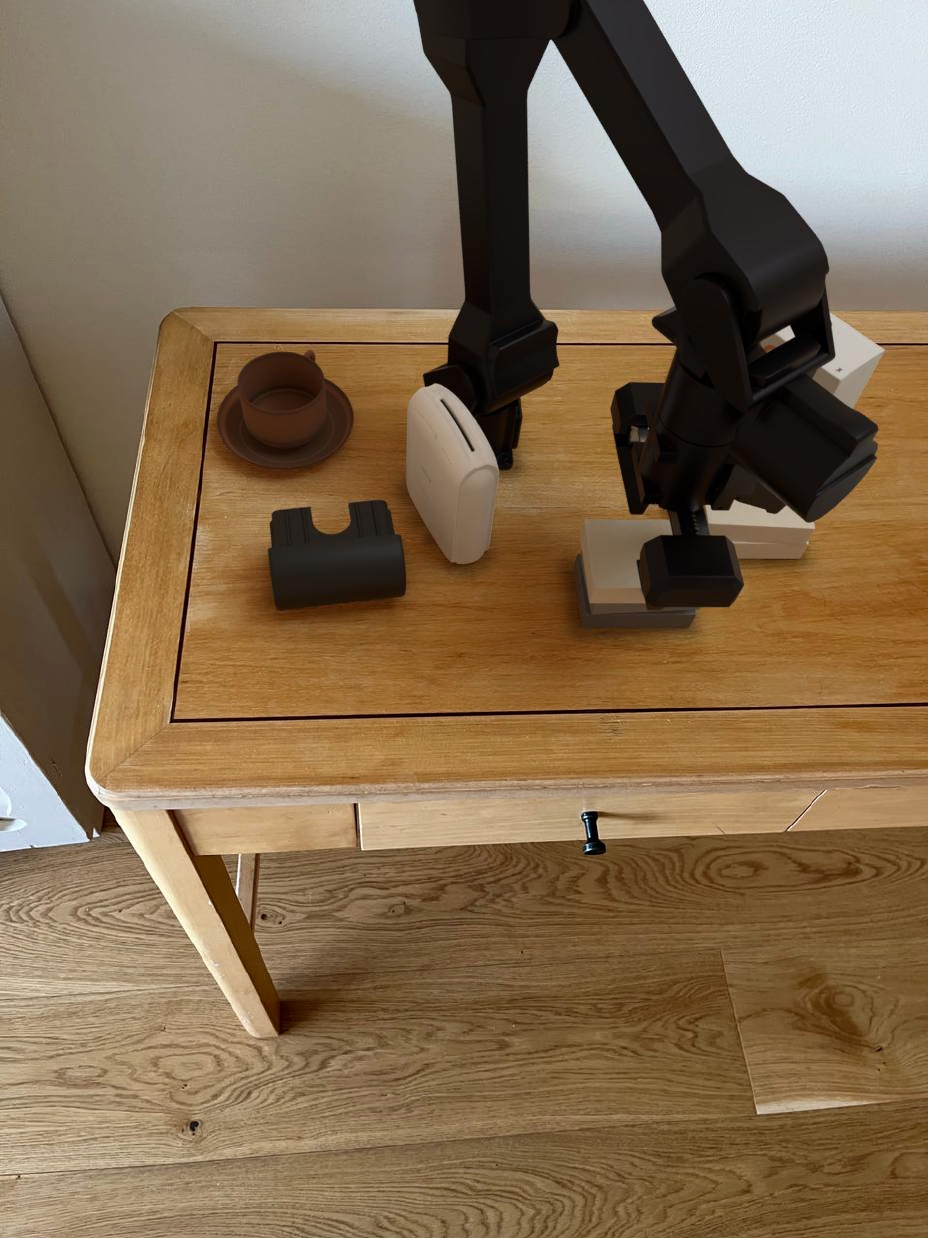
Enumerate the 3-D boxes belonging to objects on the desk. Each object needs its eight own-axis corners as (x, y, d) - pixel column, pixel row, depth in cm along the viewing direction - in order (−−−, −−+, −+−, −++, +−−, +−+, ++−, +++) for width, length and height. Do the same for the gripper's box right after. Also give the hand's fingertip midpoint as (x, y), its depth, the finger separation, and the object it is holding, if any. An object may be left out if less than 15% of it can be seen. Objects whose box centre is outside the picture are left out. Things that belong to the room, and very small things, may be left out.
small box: (825, 458, 87) (888, 349, 76) (782, 489, 84) (841, 381, 74) (760, 408, 90) (812, 296, 79) (717, 436, 88) (763, 324, 77)
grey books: (580, 628, 75) (590, 600, 71) (572, 565, 78) (580, 536, 75) (692, 628, 75) (707, 600, 72) (679, 566, 79) (692, 537, 75)
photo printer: (398, 485, 82) (400, 378, 71) (442, 471, 83) (451, 364, 72) (449, 573, 77) (458, 472, 66) (495, 556, 78) (511, 455, 68)
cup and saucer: (230, 381, 87) (220, 328, 82) (358, 389, 88) (356, 337, 82) (210, 479, 80) (198, 428, 75) (349, 486, 81) (347, 436, 76)
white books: (694, 559, 79) (709, 527, 76) (681, 501, 83) (695, 468, 79) (800, 560, 80) (820, 528, 76) (782, 502, 84) (801, 469, 80)
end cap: (279, 631, 73) (270, 581, 67) (272, 558, 76) (263, 505, 71) (405, 615, 74) (407, 565, 69) (393, 545, 78) (393, 492, 72)
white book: (589, 603, 71) (594, 587, 69) (579, 535, 75) (584, 518, 73) (705, 603, 72) (714, 587, 70) (690, 536, 76) (698, 519, 74)
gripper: (863, 530, 55) (771, 662, 68) (789, 319, 65) (721, 470, 78) (679, 529, 54) (622, 663, 67) (633, 315, 64) (591, 468, 77)
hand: (644, 559), depth 72 cm, fingers open, 9 cm apart
